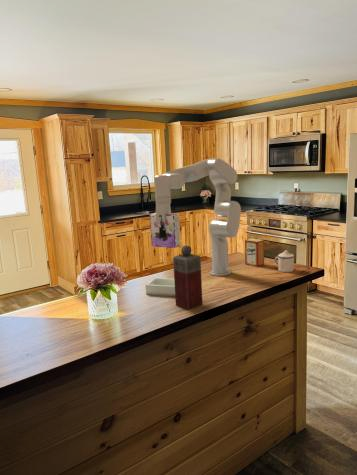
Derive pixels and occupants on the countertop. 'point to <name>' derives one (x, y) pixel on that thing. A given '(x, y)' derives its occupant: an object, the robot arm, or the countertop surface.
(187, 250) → the red canister with lid
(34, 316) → the countertop surface
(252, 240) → the baking soda box
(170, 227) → the candy box
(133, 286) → the countertop surface
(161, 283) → the tray
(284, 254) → the teacup with lid
